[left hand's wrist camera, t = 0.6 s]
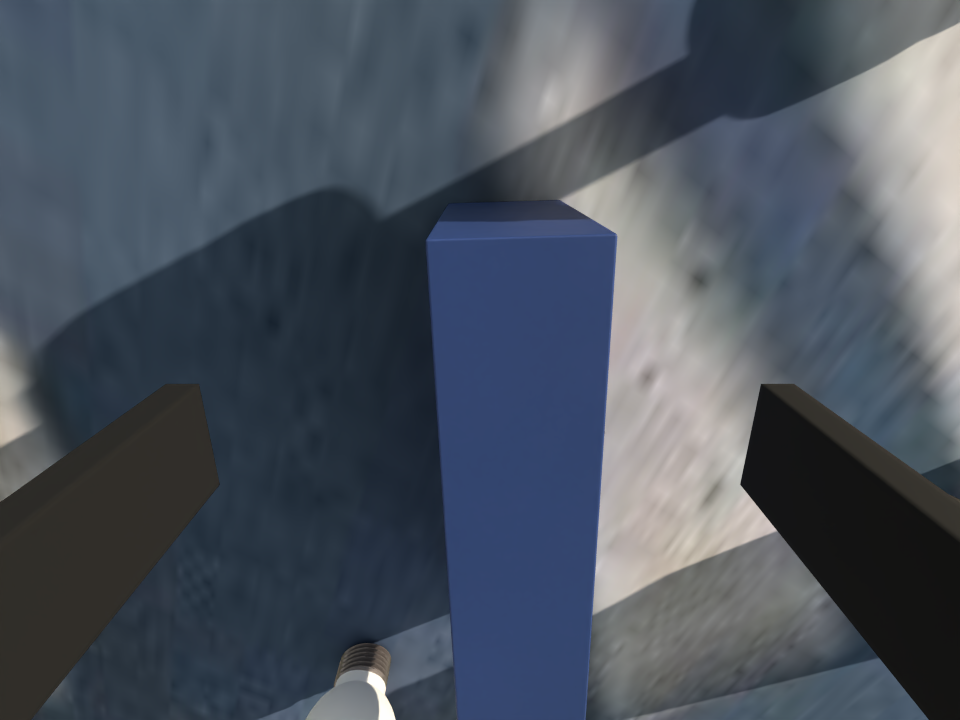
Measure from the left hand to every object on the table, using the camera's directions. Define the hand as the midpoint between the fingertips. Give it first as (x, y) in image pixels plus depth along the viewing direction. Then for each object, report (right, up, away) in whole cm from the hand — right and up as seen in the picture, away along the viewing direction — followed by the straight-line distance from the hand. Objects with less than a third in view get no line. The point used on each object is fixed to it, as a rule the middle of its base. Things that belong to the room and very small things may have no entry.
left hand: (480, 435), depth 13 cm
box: (+2, -2, +21) cm, 21 cm away
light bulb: (-9, -22, +29) cm, 38 cm away
